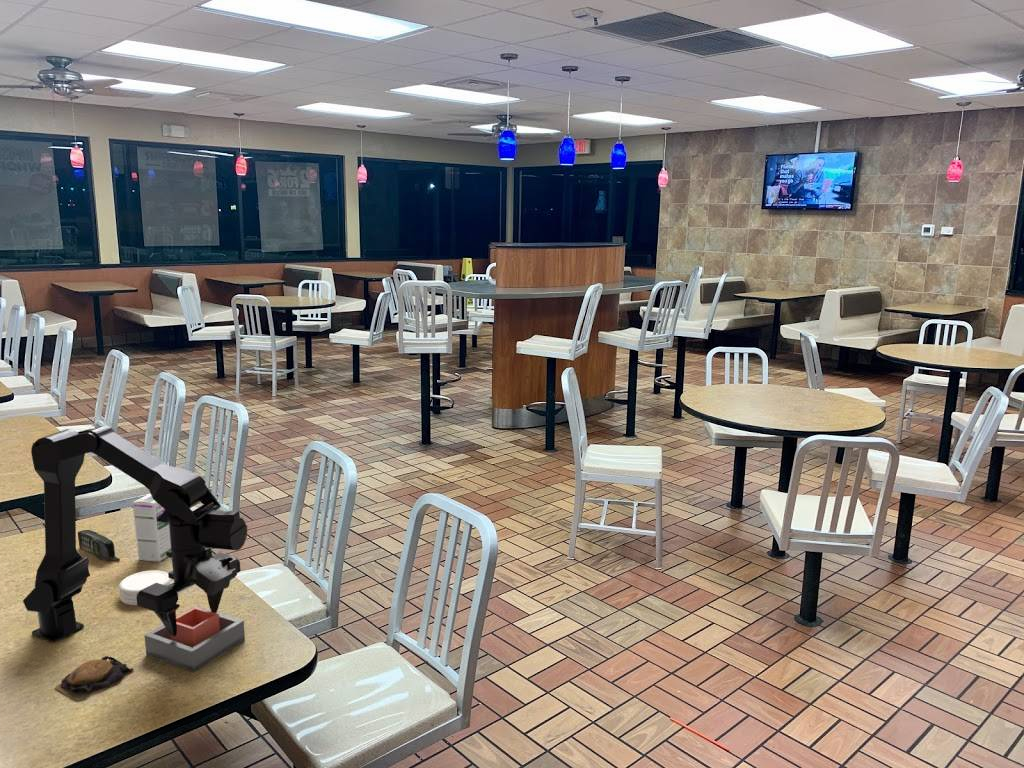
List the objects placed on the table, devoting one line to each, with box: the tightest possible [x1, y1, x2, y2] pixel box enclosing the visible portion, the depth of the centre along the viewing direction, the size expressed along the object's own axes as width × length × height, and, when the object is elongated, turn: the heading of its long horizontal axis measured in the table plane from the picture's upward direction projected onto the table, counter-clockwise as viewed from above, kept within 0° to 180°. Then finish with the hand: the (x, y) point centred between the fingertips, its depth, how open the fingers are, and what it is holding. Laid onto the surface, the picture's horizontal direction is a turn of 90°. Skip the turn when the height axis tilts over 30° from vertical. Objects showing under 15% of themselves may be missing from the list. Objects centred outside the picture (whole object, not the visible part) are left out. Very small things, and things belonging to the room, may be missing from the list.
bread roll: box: [54, 655, 135, 703], centre depth 132 cm, size 11×8×4 cm
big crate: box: [144, 606, 246, 673], centre depth 142 cm, size 12×12×4 cm
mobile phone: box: [77, 529, 121, 562], centre depth 181 cm, size 5×3×15 cm
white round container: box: [118, 569, 173, 606], centre depth 162 cm, size 10×10×4 cm
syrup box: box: [132, 493, 171, 563], centre depth 179 cm, size 6×6×14 cm
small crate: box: [170, 606, 220, 647], centre depth 142 cm, size 6×6×5 cm
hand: (194, 623), depth 141 cm, fingers open, 9 cm apart
